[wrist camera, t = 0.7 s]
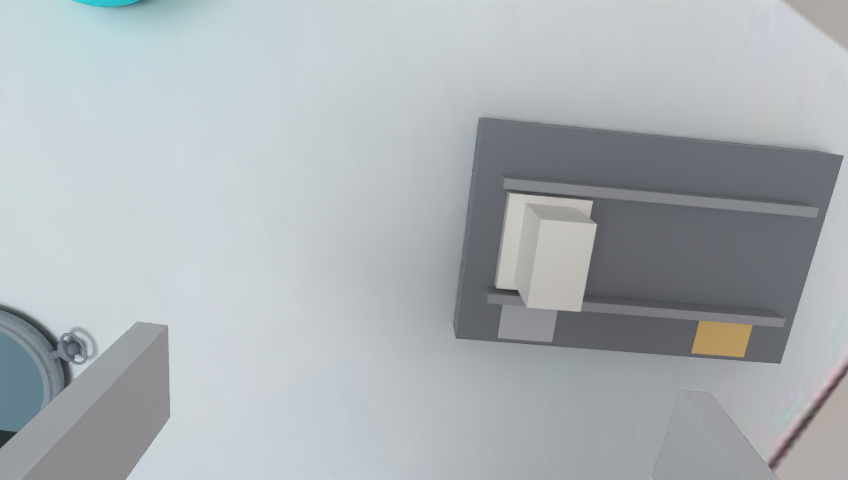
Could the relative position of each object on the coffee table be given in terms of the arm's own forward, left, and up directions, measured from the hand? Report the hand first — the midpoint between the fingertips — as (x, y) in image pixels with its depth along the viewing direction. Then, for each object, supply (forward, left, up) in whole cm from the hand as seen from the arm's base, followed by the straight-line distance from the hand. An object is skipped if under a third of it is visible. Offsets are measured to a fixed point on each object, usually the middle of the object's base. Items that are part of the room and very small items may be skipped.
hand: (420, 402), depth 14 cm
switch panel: (-1, -14, -22) cm, 27 cm away
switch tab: (-1, -8, -20) cm, 22 cm away
